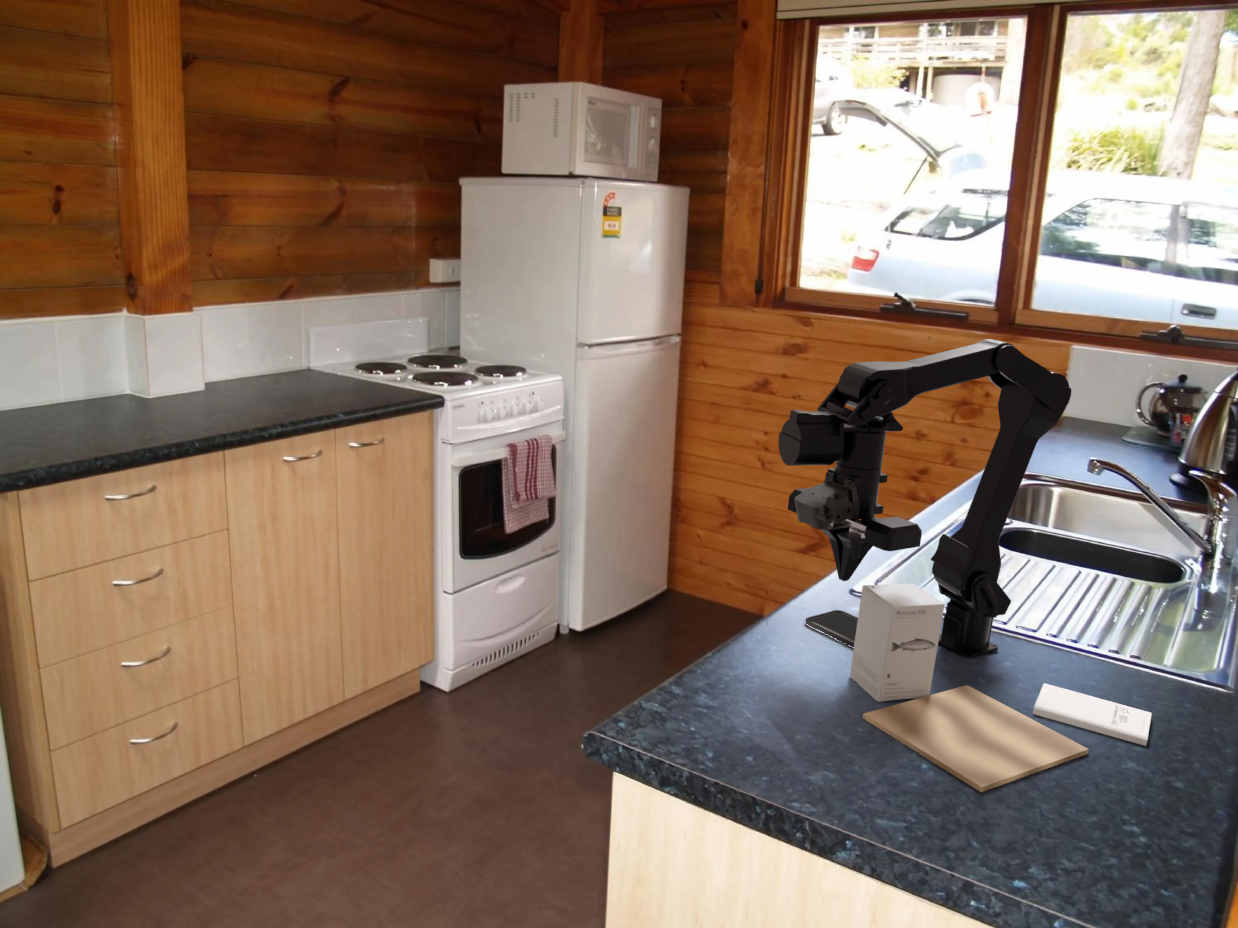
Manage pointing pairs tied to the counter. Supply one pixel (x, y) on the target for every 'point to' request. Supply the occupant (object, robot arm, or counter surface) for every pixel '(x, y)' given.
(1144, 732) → the external hard drive
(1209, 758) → the counter surface
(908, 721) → the wooden cutting board
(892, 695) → the supplement box
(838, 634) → the phone
